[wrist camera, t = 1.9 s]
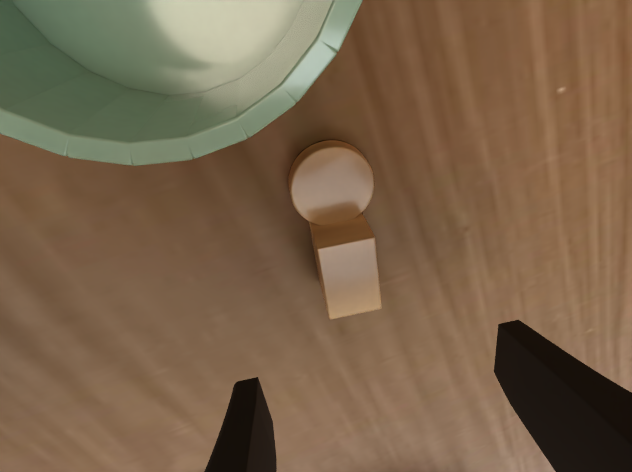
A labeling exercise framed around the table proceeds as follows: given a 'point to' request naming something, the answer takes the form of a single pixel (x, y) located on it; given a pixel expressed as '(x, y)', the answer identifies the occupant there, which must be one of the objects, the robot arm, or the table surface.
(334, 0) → the green round bowl
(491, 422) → the table surface
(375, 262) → the wooden block with disc
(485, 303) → the table surface
